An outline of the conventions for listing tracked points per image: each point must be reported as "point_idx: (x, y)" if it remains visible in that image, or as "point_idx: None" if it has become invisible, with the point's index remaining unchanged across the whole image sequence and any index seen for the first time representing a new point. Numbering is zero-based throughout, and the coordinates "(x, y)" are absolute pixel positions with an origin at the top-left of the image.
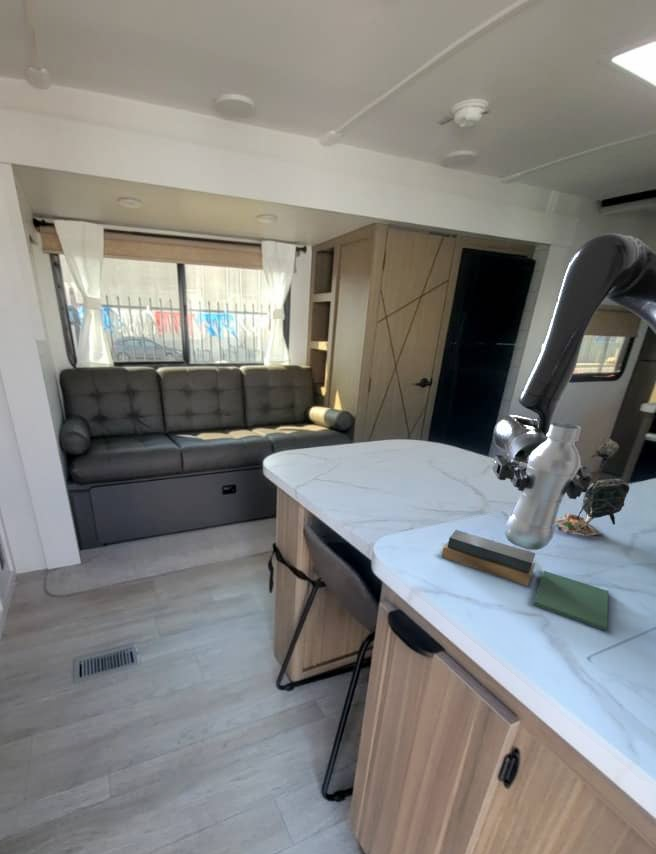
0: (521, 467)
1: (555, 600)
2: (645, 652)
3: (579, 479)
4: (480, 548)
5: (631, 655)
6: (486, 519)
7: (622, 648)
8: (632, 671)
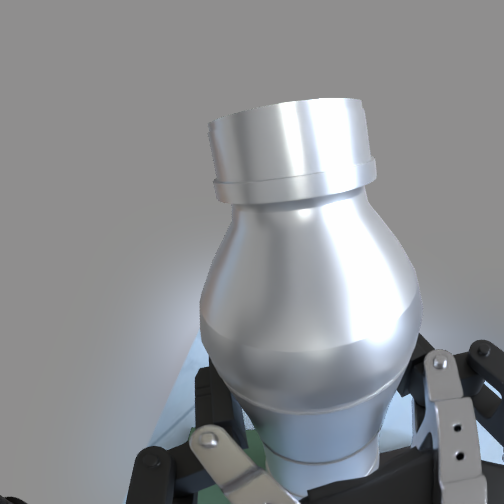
0: (438, 377)
1: (250, 450)
2: (162, 414)
3: (190, 453)
4: (395, 450)
5: (178, 403)
6: None
7: (184, 409)
8: (185, 382)
